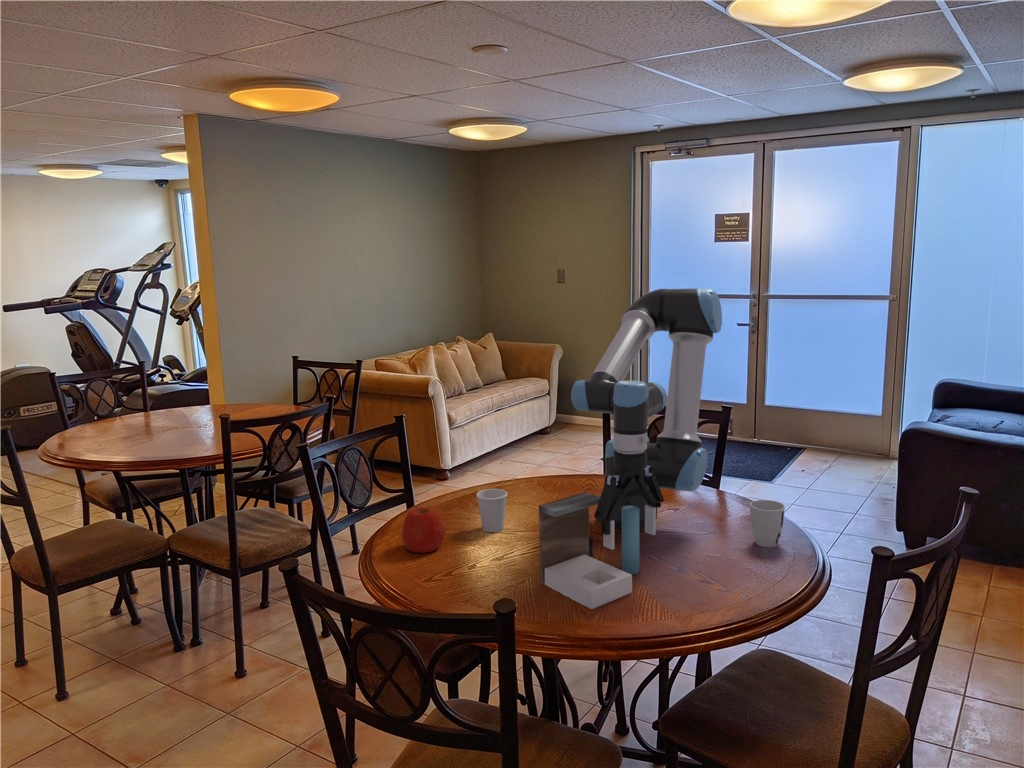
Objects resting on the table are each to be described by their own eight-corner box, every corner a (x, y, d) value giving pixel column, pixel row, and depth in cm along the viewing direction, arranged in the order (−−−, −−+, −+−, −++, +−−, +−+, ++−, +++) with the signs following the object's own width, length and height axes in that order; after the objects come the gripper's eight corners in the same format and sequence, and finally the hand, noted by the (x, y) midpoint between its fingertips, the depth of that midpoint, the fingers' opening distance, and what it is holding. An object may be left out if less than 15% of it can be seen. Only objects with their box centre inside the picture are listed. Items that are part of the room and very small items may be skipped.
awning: (540, 583, 165) (538, 505, 162) (586, 566, 174) (585, 491, 171) (556, 591, 161) (555, 511, 158) (602, 573, 169) (602, 497, 166)
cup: (785, 550, 179) (787, 511, 178) (751, 548, 181) (752, 509, 179) (780, 538, 187) (782, 500, 186) (747, 536, 189) (748, 499, 187)
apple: (453, 543, 190) (451, 503, 189) (431, 558, 181) (429, 517, 179) (417, 537, 195) (415, 499, 193) (394, 552, 185) (391, 512, 183)
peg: (618, 570, 171) (617, 508, 168) (630, 565, 173) (630, 504, 171) (630, 575, 168) (630, 512, 165) (643, 570, 170) (643, 508, 168)
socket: (544, 585, 164) (544, 568, 163) (584, 570, 171) (584, 554, 171) (591, 609, 152) (591, 591, 152) (632, 592, 160) (632, 574, 159)
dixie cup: (500, 521, 205) (499, 486, 203) (513, 530, 198) (512, 495, 196) (472, 526, 202) (471, 491, 200) (484, 536, 194) (483, 500, 192)
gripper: (602, 463, 155) (602, 558, 159) (679, 444, 170) (678, 532, 174) (578, 456, 161) (578, 548, 165) (655, 438, 176) (654, 523, 179)
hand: (630, 540), depth 169 cm, fingers open, 13 cm apart
